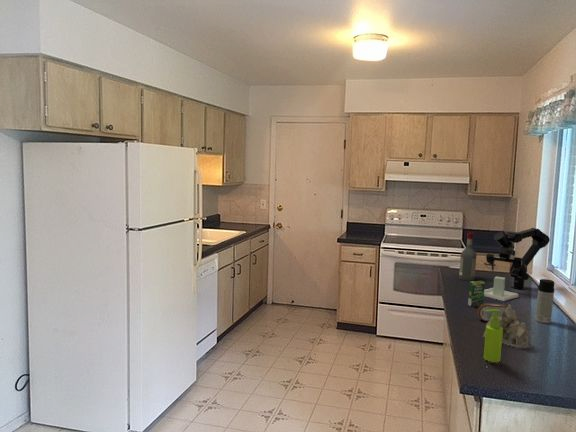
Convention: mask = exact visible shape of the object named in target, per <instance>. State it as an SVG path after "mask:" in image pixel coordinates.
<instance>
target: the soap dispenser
mask: <svg viewBox="0 0 576 432" xmlns="http://www.w3.org/2000/svg"><path fill="white" fill-rule="evenodd" d="M485 311H486V312H487V313H489V312H493V317H491V318H490V325H487V326H486V325H485V331H486V333H485V339H484V346H483V349H484V350H483V358H484V359H485V360H488V361H491V362H499V361H500V362H501V355H502V346H503V345H502V335H503V328H502V327H500V319H499V318H498V312H501V311H500V310H498V309H487V310H485Z"/></svg>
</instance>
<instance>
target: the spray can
mask: <svg viewBox="0 0 576 432" xmlns="http://www.w3.org/2000/svg"><path fill="white" fill-rule="evenodd" d="M554 293H555V281H554V280H552V279H546V278H543V279H542V278H541V279H539V283H538V289H537V299H536V308H535V316H534V317H535V318H534V319H535V322H538V323H541V324H550V323H551V321H552V316H553V315H552V312H553V305H554V296H555V295H554Z"/></svg>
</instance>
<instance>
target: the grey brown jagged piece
mask: <svg viewBox="0 0 576 432" xmlns="http://www.w3.org/2000/svg"><path fill="white" fill-rule="evenodd" d="M507 305H508V306H507V308H506V310H504V312H503V314H502V316H501V317H500V316H498V318H499V319H500V327H502V328H503V335H502V343H504V344H507V345H511V346H515V347H529V348H530V345H529V340H530V338H532V337H531V335H530V333H529V330H528V328H527V325H526V323H525V322H520V321H519V320H518V317H517V314H516V311H515V310H513V309H512V304H507ZM492 317H493V314H492ZM487 325H490V321H487V322H486V324H485V327H486V326H487ZM485 333H486V330H484V332H483V335H482V338H483V337H485Z"/></svg>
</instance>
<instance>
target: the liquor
mask: <svg viewBox="0 0 576 432" xmlns="http://www.w3.org/2000/svg"><path fill="white" fill-rule="evenodd" d="M466 236H467V237H466V247H465V248H464V249H463V250H462V252H461V253H460V258H459V259H460V260H459V273H458V278H459V280H462V281H467V282H472V281H475V278H476V277H475V276H476V268H477V267H476V266H477V253H476V251H475V250H474V248H473V239H474V232H467V234H466Z"/></svg>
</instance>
